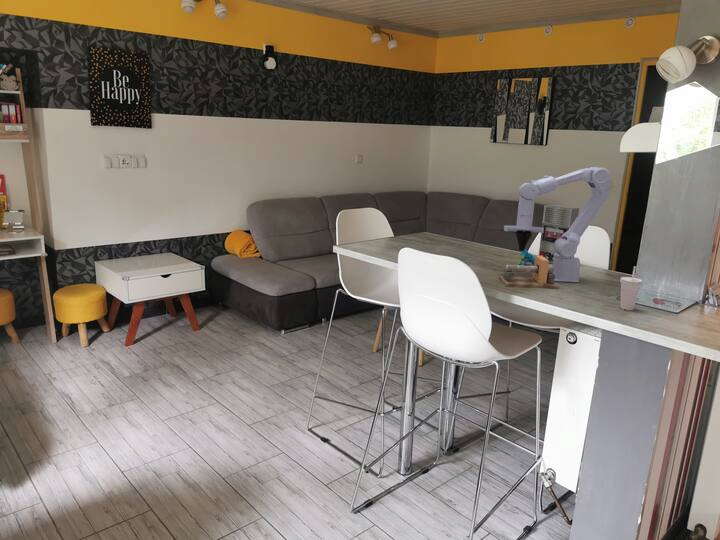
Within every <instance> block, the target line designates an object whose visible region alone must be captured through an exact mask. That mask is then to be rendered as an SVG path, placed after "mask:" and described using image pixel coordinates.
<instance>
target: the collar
mask: <svg viewBox="0 0 720 540" xmlns="http://www.w3.org/2000/svg"><path fill="white" fill-rule="evenodd" d="M534 257H535V263H534V266H539V272H538V273H535V272H532V277H533V279H535V280H536V281H537V282H538V283H539V284H546V282H547V273H548V267H549V264H550V263H549V260H547V259H546V258H544V257H543V256H539V255H535V256H534Z"/></svg>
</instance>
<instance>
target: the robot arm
mask: <svg viewBox="0 0 720 540" xmlns="http://www.w3.org/2000/svg"><path fill="white" fill-rule="evenodd" d="M612 180H613V178H612V177H611V174H610V171H609V169H607V168H605V167H597V166H591V167H587V168H586V167H585V168H581V169H578V170H574V171H572V172H569V173H566V174H564V175H561V176H558V177H554V176H552V175H549V176H548V175H544V176H543V178H540V179H537V180H534V179H533V180H531V181H530V182H524V183H522V184H521V185H520V186H519V189H518V190H517V193H518V195H519V198H518V201H519V202H518V205H517V206H518V207H517V214H516V225H503V231H504V232H514V234H515V236H516V240H517V243H518V251H524V250H526V246H527V244H528V241H529V240H530V239H531V237H532V233H540V234H541V233H543V232H544V228H543V227H542V226H533V220H534V211H535V210H534V209H535V200H536V199H535V198H536V197H537V196H539V197H540V196H542V195H545V194H548V193H552V192H556V190H557V189H558V187H559V186H564V185H567V184H571V183H575V182H579V181H582V182H586V183H587V184H588V185H589V187H590V190H591V193H592V195H591V196H590V197H589V199H588V200H587V202H586V203H585V205H584V206H583V208H582V209H581V211H579V214H578V217H577V218H576V220H575V221H574V222H573V224H572V225H571V227H570V228H569V230H568V231H566V232H565V233H564V234H563V235H562V236H561V237H560V238H559V239H557V240H556V241H555V243H554V249H555V251H556V253H555V254H554V259H553V264H552V267H554V273H553V274H554V275H555V280H554V282H566V283H567V282H568V283H579V282H580V280H579V276H580V270H581V261H580V258H579V257H575V255H576V253H577V251H578V250H577V249H578V246H579V245H580V243H581V237H582V236H583V234H584V232H586V230H587V229H588V227H589V226H590V224H591V223H592V222H593V220H594V218H596V215H597V214H598V213H599V211H600V210H601V208H602V207H603V206H604V204H605V203H606V201H607V200H608V199H609V196H610V189H611V183H612Z"/></svg>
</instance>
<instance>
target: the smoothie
mask: <svg viewBox="0 0 720 540" xmlns="http://www.w3.org/2000/svg"><path fill="white" fill-rule="evenodd" d="M636 267H637V266H635V265H634V266H633V270H632V277H631V276H630V277H629V276H628V277H627V276H622V277H620V280H619V281H620V307H621V308H622V309H621V308H620V309H621V310H624V309H626V310H625V311H634V308H635V305H636V301H637V299H638V295H639V292H640V289H641V285H642V284H643V280H642V279H640V278H636V277H635V275H636V269H637V268H636Z"/></svg>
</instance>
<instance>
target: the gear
mask: <svg viewBox="0 0 720 540" xmlns="http://www.w3.org/2000/svg"><path fill="white" fill-rule="evenodd" d="M519 251H520V250H519ZM520 254H521V259H520V261H518V263H517V265H525V266H526V264H527V263H530V264H531V266H534V263H535V256H534V257H533V255H532V253H531V252H529V251H528V250H526V249H524V251H520ZM521 263H522V264H521Z"/></svg>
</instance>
